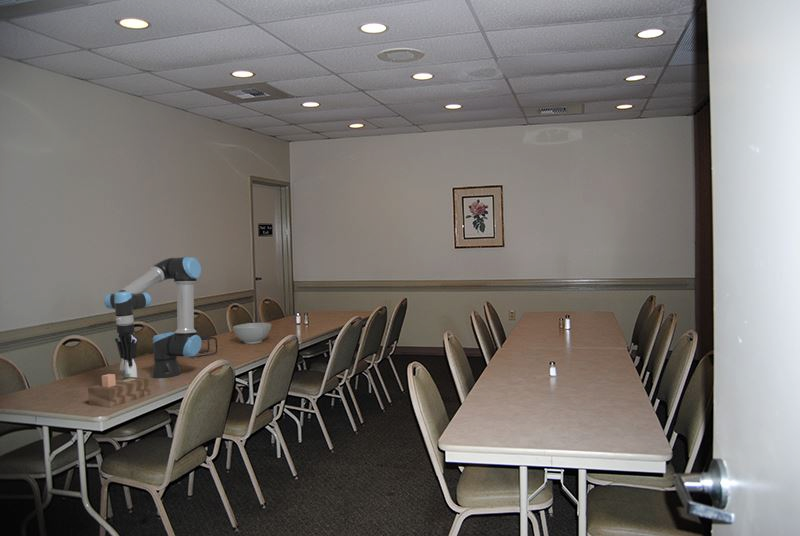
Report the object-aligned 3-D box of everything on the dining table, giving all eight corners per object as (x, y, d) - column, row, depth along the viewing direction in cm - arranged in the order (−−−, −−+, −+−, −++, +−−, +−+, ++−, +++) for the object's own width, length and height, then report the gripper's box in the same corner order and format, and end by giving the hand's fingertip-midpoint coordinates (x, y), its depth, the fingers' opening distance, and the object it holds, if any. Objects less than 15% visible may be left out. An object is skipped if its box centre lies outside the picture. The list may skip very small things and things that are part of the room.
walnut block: (129, 392, 292) (128, 376, 291) (149, 394, 286) (148, 378, 285) (89, 404, 272) (88, 387, 271) (110, 407, 266) (109, 389, 266)
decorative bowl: (277, 342, 419) (276, 325, 418) (239, 347, 406) (238, 329, 405) (265, 337, 442) (264, 321, 441) (229, 342, 429) (228, 325, 428)
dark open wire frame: (183, 356, 382) (181, 322, 381) (209, 351, 393) (207, 318, 392) (192, 358, 372) (190, 323, 371) (218, 354, 384) (216, 320, 383)
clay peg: (110, 390, 276) (109, 373, 276) (116, 391, 275) (115, 374, 274) (102, 393, 273) (101, 375, 272) (108, 393, 271) (107, 376, 271)
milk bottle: (133, 387, 303) (130, 348, 302) (141, 389, 298) (137, 349, 297) (118, 390, 297) (115, 351, 296) (125, 392, 292) (122, 352, 291)
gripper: (108, 325, 281) (112, 374, 283) (128, 325, 276) (132, 375, 278) (122, 322, 288) (126, 370, 290) (141, 323, 283) (145, 371, 284)
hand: (129, 372), depth 284 cm, fingers closed
